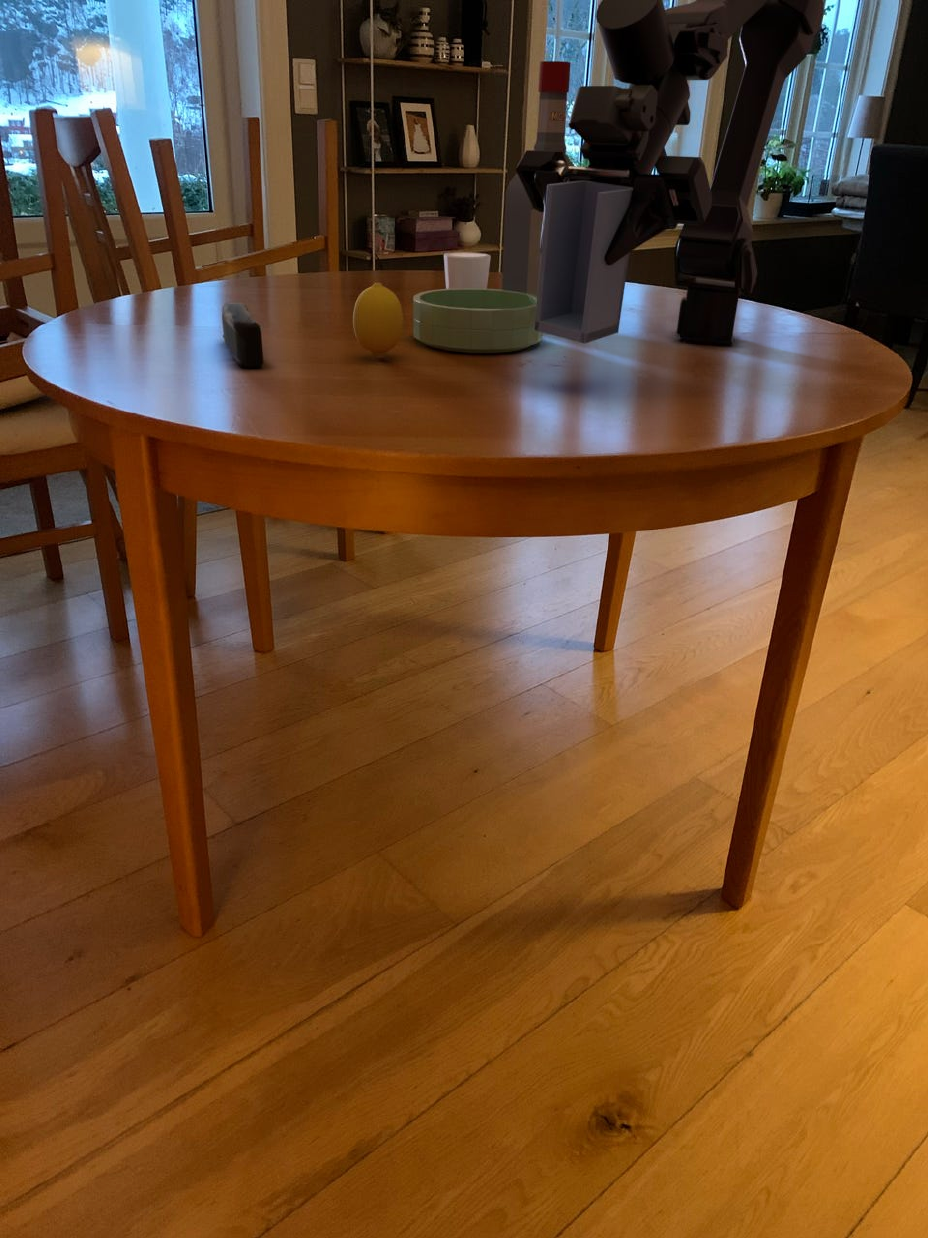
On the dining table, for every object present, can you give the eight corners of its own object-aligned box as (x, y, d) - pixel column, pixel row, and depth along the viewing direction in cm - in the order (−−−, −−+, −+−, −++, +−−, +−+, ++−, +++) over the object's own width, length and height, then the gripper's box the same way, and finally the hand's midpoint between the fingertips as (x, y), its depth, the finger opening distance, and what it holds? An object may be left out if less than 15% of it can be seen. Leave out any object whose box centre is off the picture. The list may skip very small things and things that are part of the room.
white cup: (484, 310, 128) (486, 258, 125) (438, 307, 130) (438, 255, 126) (492, 302, 134) (494, 252, 131) (448, 299, 135) (449, 250, 132)
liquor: (587, 326, 120) (610, 62, 105) (533, 332, 115) (549, 57, 101) (544, 315, 126) (560, 65, 112) (492, 320, 122) (501, 61, 107)
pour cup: (568, 320, 92) (584, 179, 85) (618, 332, 89) (638, 188, 82) (533, 330, 88) (547, 184, 81) (584, 343, 85) (603, 193, 78)
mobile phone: (265, 321, 93) (239, 294, 105) (235, 323, 92) (212, 295, 103) (268, 370, 95) (242, 338, 107) (239, 372, 94) (217, 339, 106)
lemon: (384, 365, 97) (382, 288, 93) (344, 358, 100) (341, 282, 96) (413, 356, 101) (413, 282, 98) (374, 350, 104) (372, 277, 100)
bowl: (551, 334, 115) (554, 293, 112) (526, 359, 101) (528, 314, 99) (435, 324, 118) (435, 284, 116) (395, 348, 105) (395, 303, 103)
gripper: (532, 52, 84) (458, 187, 82) (720, 48, 74) (643, 200, 72) (569, 147, 93) (504, 270, 91) (740, 153, 84) (672, 291, 81)
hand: (574, 258), depth 84 cm, fingers closed on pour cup, 7 cm apart
